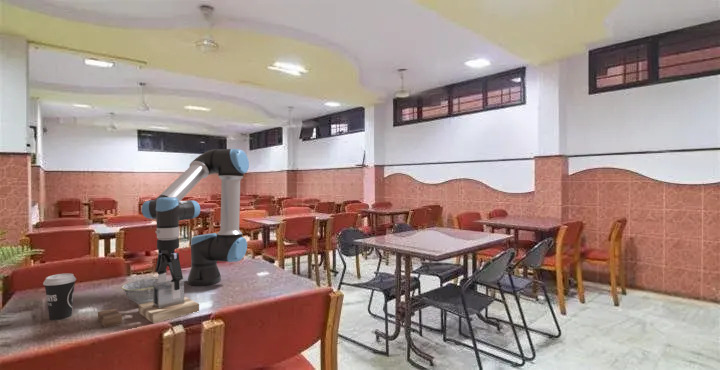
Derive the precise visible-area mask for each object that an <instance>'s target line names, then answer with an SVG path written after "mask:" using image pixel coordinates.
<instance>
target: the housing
mask: <svg viewBox="0 0 720 370" xmlns="http://www.w3.org/2000/svg"><path fill="white" fill-rule="evenodd" d="M184 296H185V281H183V280H180V298H176V299H172V282H171V280H167V281H166V282H161V283H156V284H153V305H154V306H155V307H157V308H158V309H161V308H165V307H170V306H174V305H178V304H182V303H184Z"/></svg>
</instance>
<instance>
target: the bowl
mask: <svg viewBox="0 0 720 370" xmlns="http://www.w3.org/2000/svg"><path fill="white" fill-rule="evenodd" d="M166 281H168V280H167V279H166ZM156 283H158V278H144V279H139V280H133V281H131V282H128V283H126V284H123V286H122V287H121V289H122V290H123V291H124V294H125V295H126V296H127V298H128V299H129V300H130V301H133V302H135V304H136V305H139V304H144V303H148V302H153V284H156Z"/></svg>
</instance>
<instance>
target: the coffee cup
mask: <svg viewBox="0 0 720 370" xmlns="http://www.w3.org/2000/svg"><path fill="white" fill-rule="evenodd" d="M74 275H75V274H74V273H57V274H53V275H49V276H46V277H45V280H43V283H42V285H43V286H44V289H45V294H46V295H45V296H46V302H47V303H46V304H47V310H48V311H47V312H48V318H49V321H59V320H60V321H61V320H65V319H67V318H71V317H72V316H73V306H74V305H73V304H74V296H75V294H74V293H75V286H76V285H75V284H76V281H77V278H76V276H74Z"/></svg>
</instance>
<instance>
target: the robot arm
mask: <svg viewBox="0 0 720 370" xmlns="http://www.w3.org/2000/svg"><path fill="white" fill-rule="evenodd" d="M188 166H189V167H188V168H187V169H185V170H184V172H183V173H182V174H181V175H179V177H178V178H176V179H175V180H174V181H173V182H172V183H171V184H170V185H169V186H168V187H167V188H166V189H165V190H164V191H162V192H161V194H159V195H158V196H157V197H156V198H155V199H154V200H153V199H151V200H146V201H144V202H143V203H142V206H141V209H140V211H141V214H142V215H143V217H144V218H146V219H150V220H151V219H152V220H156V230H155V231H154V232H155V234H156V238H157V240H156V250H157V252H158V253H157V254H158V255H157V260H156V267H155V272H156V273H157V276H158V277H157V279H158V283H161V282H166V280H167V273H168V271H167V268H168V269H169V272H170V276H171V280H170V281H171V282H172V299H176V298H180V281H183V280H184V276H183V272H182V267H181V261H180V253H178V252H176V251H175V250H176V249H179V248H180V239H179V236H180V224H179V223H180V222H181V221H187V220H192V219H196V218H197V217H198V216H199V215H200V213H201V206H200V205H201V204H199V202H198V201H196V200H191V199H187V200H183V199H184V197H186V196H187V195H188V194H189V192H190V191H191V190H193V188H194V187H195V186H196V185H197V184H198V183H200V181H201V180H202V179H206V178H208V176H209V175H211V174H218V175H217V176H218V178H219V179H220V180H221V185H220V187H221V189H220V190H221V192H220V196H221V198H220V229H219V231H218V232H217V233H215V232H214V233H213V232H212V233H211V232H210V233H205V234H198V235H195V236H193V237H192V238H191V240H190V263H191V264H190V265H191V266H190V270H189V273H188V277H187V285H189V286H197V287H198V286H199V287H200V286H201V287H202V286H210V285H213V284H217V283H219V282H221V280H222V275H221V272H220V270H219V267H218V262H227V263H228V262H229V263H237V262H240V261H241V260H242V259H243V258H244V257H245V255H246V253H247V249H248V241H247V239H246V238H245V237H243V232H242V231H241V230H240V212H241V211H240V208H241V205H240V204H241V200H240V199H241V180H242V179H243V178H244V174H246V173H247V172H248V171H249V168H250V167H249V166H250V162H249V158H248V155H247V153H246V152H245V151H244V150H242V149H239V148H225V149H223V148H222V149H220V148H217V149H211V150H208V151H205V152H203V153H202V154H199V155H198V156H197V157H195V158H194V159H193V160H192V161H191V162H190V163H189V165H188Z"/></svg>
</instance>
